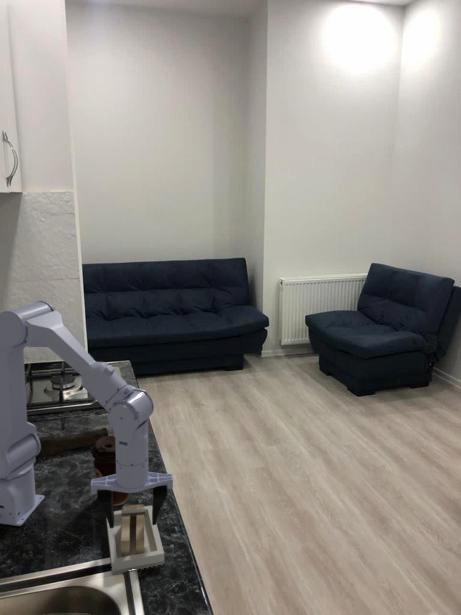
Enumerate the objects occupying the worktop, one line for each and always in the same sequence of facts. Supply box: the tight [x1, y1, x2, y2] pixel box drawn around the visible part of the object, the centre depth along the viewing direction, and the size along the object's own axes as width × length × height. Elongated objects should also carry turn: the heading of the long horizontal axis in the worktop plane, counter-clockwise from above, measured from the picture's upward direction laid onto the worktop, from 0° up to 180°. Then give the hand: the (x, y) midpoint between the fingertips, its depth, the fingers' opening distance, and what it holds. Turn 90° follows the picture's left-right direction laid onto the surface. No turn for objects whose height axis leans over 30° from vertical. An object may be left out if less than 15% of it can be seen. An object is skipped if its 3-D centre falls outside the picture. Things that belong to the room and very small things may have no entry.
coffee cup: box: [90, 434, 130, 507], centre depth 106 cm, size 9×8×13 cm
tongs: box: [121, 503, 145, 557], centre depth 94 cm, size 10×4×4 cm, turn 10°
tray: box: [105, 504, 165, 576], centre depth 94 cm, size 14×9×2 cm, turn 17°
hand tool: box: [35, 427, 110, 458], centre depth 126 cm, size 19×4×5 cm, turn 114°
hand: (133, 523), depth 94 cm, fingers open, 7 cm apart
